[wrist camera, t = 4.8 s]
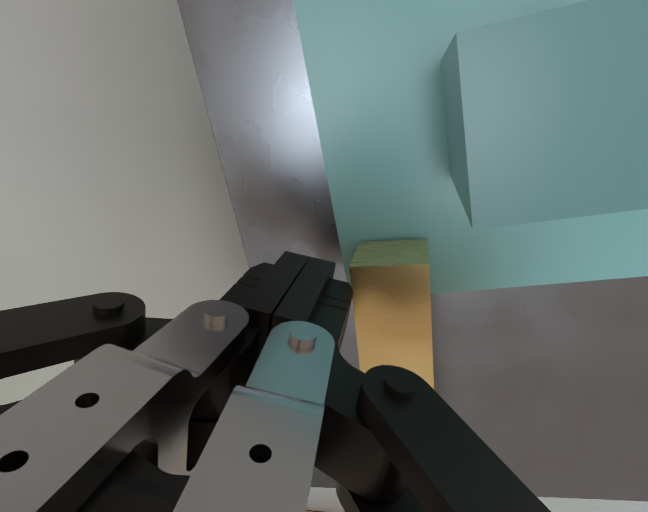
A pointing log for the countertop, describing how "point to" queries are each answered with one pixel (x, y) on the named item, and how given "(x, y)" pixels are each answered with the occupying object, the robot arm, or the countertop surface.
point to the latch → (393, 305)
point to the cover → (486, 133)
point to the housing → (446, 308)
